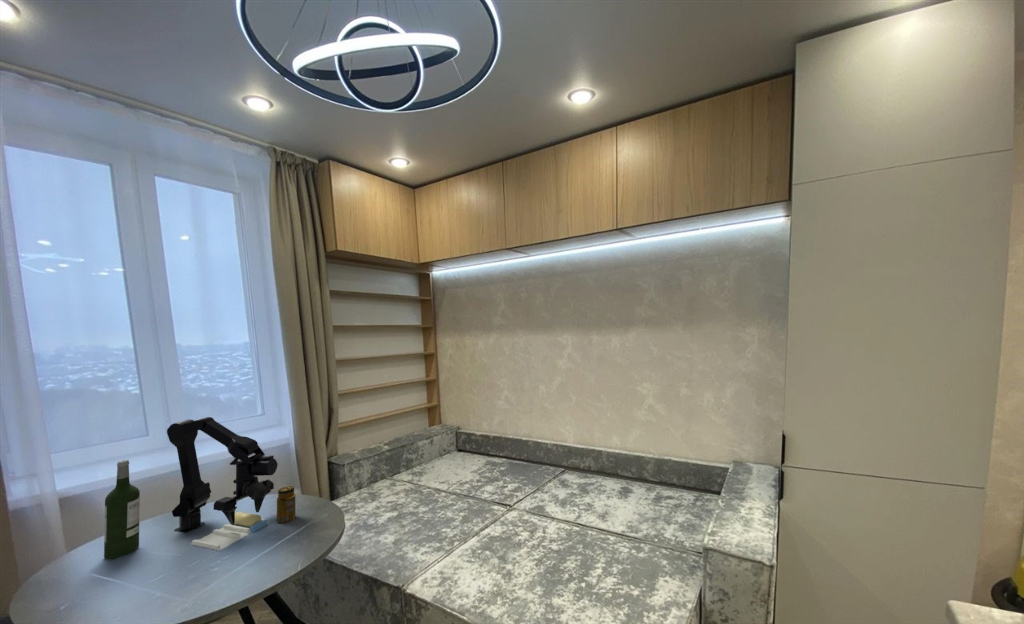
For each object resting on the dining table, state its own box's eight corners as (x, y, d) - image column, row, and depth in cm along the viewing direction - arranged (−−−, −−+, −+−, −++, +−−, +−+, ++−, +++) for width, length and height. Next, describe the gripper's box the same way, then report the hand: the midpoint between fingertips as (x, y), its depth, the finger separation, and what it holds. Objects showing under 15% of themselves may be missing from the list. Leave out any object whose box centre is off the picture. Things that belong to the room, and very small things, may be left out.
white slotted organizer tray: (190, 545, 123) (190, 539, 123) (242, 518, 140) (242, 513, 140) (219, 551, 119) (219, 545, 119) (269, 523, 136) (269, 518, 136)
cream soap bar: (230, 525, 134) (231, 514, 134) (241, 521, 138) (242, 510, 138) (250, 529, 131) (251, 517, 131) (260, 524, 135) (261, 513, 135)
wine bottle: (139, 552, 120) (140, 460, 122) (103, 563, 115) (105, 467, 116) (138, 542, 126) (139, 455, 127) (104, 553, 120) (106, 461, 121)
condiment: (295, 514, 143) (295, 483, 143) (299, 522, 136) (298, 490, 137) (273, 520, 138) (273, 488, 138) (276, 530, 131) (275, 496, 132)
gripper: (235, 488, 124) (235, 535, 123) (284, 467, 142) (284, 508, 141) (212, 485, 127) (212, 530, 126) (263, 465, 145) (263, 505, 144)
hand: (245, 518), depth 134 cm, fingers open, 9 cm apart
